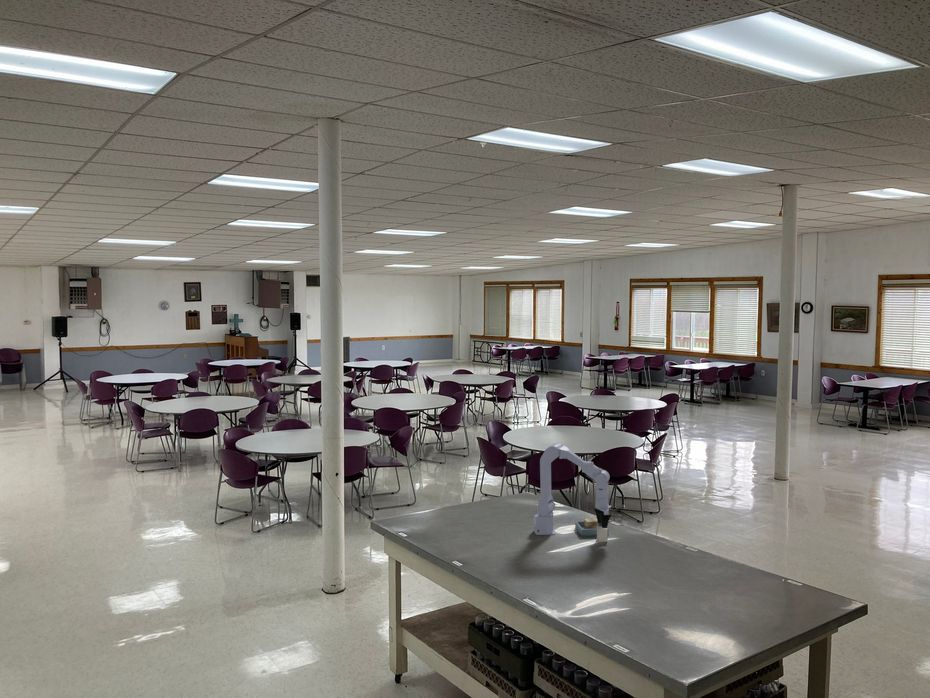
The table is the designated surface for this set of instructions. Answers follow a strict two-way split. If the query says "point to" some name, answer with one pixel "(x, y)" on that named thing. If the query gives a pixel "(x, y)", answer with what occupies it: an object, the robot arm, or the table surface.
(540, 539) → the table surface
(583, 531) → the tote
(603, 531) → the cream carton
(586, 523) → the oak block
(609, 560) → the table surface
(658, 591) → the table surface
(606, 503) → the robot arm
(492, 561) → the table surface
